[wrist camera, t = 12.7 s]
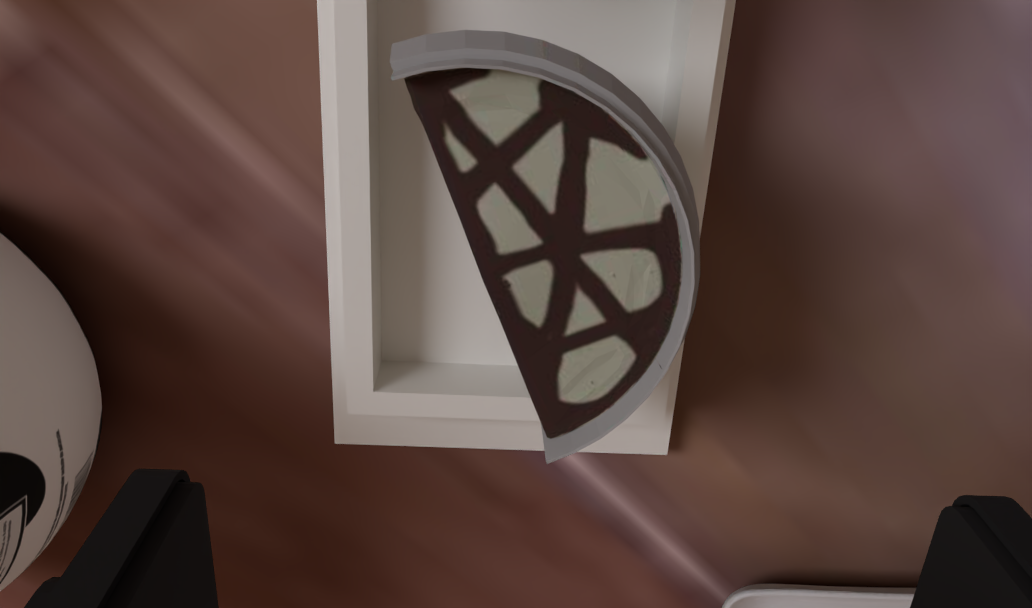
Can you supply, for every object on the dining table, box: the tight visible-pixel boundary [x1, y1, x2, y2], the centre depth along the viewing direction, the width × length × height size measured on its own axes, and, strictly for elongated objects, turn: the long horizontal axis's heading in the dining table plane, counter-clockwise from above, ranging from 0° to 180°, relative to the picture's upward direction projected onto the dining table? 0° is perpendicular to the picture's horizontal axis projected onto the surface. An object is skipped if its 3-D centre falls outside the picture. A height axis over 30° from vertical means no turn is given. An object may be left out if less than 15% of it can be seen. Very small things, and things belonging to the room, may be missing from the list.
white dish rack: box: [317, 0, 736, 455], centre depth 26 cm, size 14×24×12 cm, turn 177°
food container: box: [390, 30, 700, 464], centre depth 25 cm, size 12×6×10 cm, turn 19°
